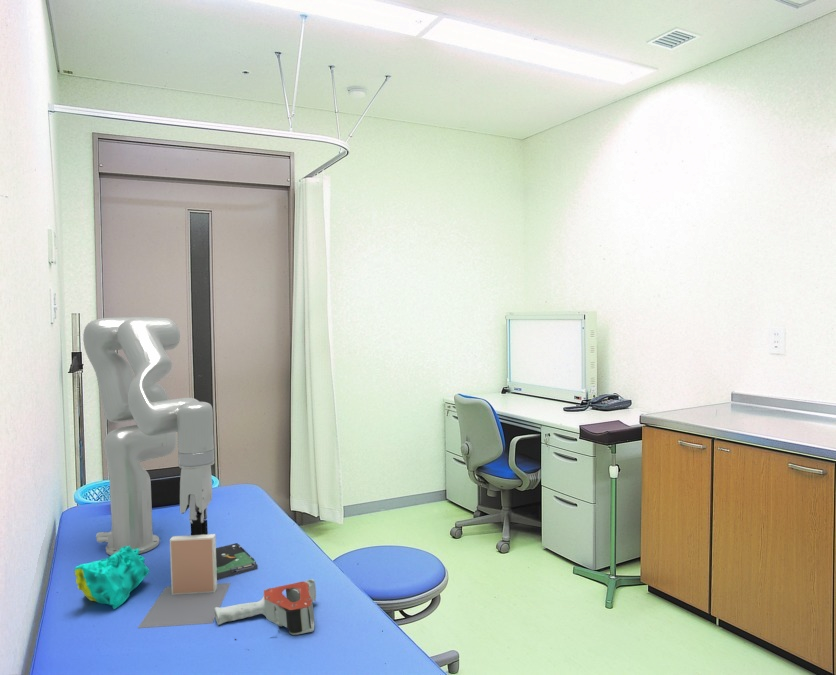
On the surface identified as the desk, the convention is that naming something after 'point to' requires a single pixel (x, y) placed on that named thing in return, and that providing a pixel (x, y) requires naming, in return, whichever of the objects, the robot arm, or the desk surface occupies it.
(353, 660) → the desk surface
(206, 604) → the mat
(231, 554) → the disk drive
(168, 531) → the desk surface
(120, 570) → the teal sponge
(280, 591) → the tape dispenser
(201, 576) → the tile
